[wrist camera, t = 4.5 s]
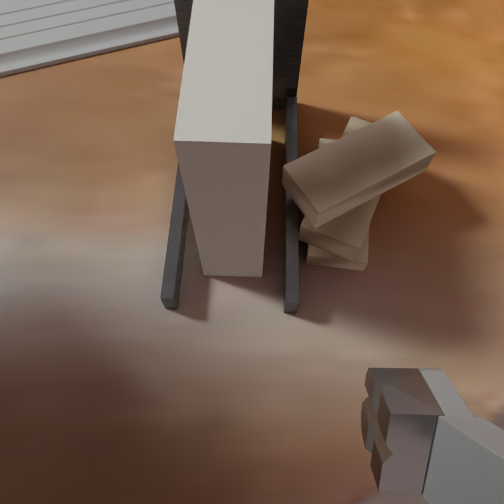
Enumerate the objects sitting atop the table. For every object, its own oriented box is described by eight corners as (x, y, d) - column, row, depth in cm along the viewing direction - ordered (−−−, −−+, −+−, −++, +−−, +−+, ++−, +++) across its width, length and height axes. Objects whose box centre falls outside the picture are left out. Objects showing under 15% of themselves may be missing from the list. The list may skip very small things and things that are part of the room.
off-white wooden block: (203, 275, 31) (173, 140, 19) (216, 137, 36) (198, -41, 24) (262, 277, 31) (271, 143, 19) (265, 138, 36) (275, -38, 24)
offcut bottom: (304, 267, 32) (307, 254, 30) (316, 154, 37) (319, 138, 35) (361, 274, 32) (367, 263, 30) (366, 160, 36) (372, 144, 35)
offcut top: (281, 183, 31) (283, 165, 29) (389, 130, 32) (397, 110, 31) (314, 229, 29) (318, 212, 27) (425, 170, 31) (436, 152, 29)
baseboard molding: (308, 22, 43) (265, -50, 48) (312, -7, 41) (266, -80, 46) (-30, 101, 39) (-39, 12, 44) (-50, 74, 36) (-58, -17, 41)
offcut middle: (297, 239, 31) (300, 225, 29) (346, 134, 35) (351, 115, 33) (353, 261, 30) (360, 248, 28) (396, 151, 34) (404, 133, 32)
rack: (165, 308, 30) (98, 173, 17) (191, 98, 38) (160, -107, 25) (296, 313, 30) (334, 181, 17) (294, 101, 38) (319, -103, 25)
